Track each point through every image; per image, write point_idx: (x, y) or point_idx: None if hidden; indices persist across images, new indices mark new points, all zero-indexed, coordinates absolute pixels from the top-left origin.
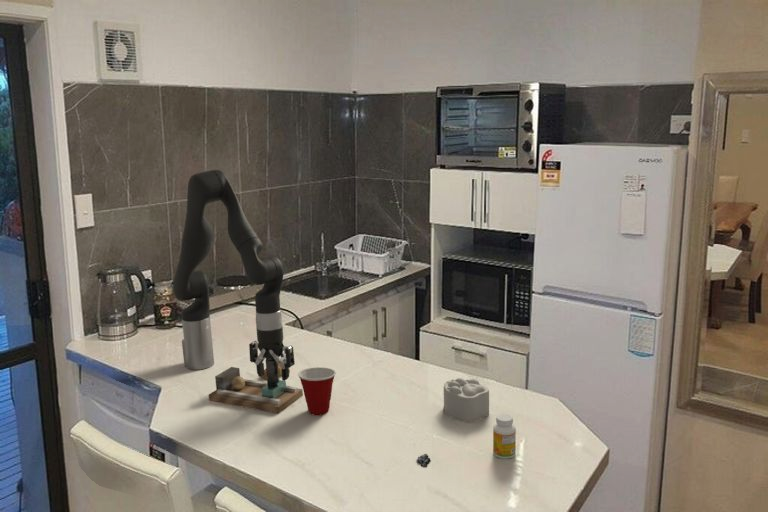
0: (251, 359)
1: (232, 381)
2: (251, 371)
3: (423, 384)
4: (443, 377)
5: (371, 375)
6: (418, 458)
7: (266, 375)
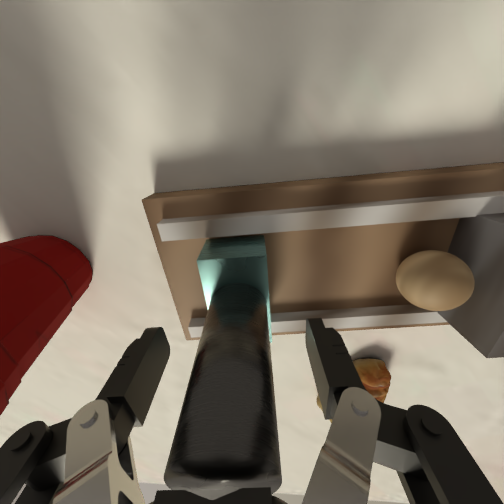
0: (439, 438)
1: (467, 267)
2: (431, 376)
3: (10, 435)
4: None
5: (133, 434)
6: None
7: (365, 369)
